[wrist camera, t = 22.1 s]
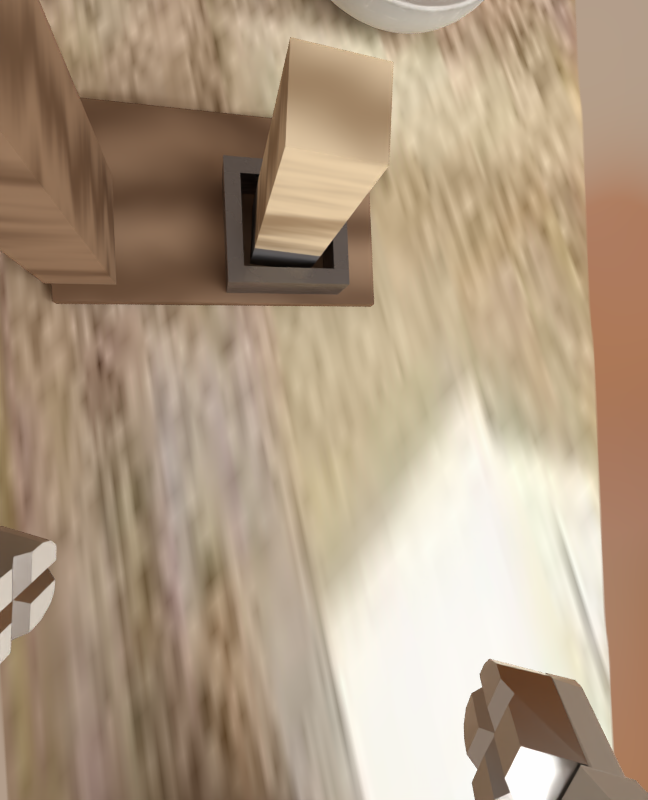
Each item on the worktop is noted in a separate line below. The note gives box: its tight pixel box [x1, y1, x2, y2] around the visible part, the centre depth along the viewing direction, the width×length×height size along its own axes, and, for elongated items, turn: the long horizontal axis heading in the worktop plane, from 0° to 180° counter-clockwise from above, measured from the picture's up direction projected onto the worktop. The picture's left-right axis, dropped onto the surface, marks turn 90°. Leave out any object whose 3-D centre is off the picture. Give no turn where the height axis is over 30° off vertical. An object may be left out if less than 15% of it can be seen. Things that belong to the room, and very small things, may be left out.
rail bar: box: [250, 37, 393, 268], centre depth 30 cm, size 5×5×18 cm
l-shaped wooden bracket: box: [0, 0, 374, 307], centre depth 27 cm, size 16×26×25 cm, turn 92°
